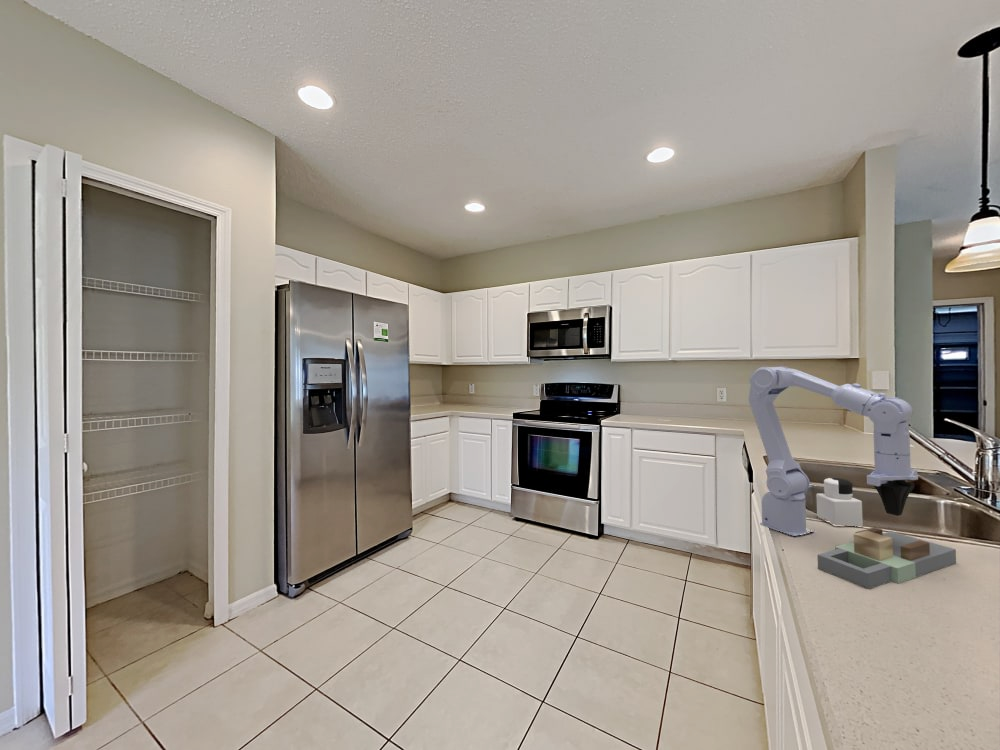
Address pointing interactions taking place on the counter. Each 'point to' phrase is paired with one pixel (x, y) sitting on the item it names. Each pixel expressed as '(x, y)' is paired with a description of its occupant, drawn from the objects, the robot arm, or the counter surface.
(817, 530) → the counter surface
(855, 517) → the white stepped box
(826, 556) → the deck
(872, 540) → the maple block
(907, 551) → the brown rectangular blocks
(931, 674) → the counter surface
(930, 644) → the counter surface
